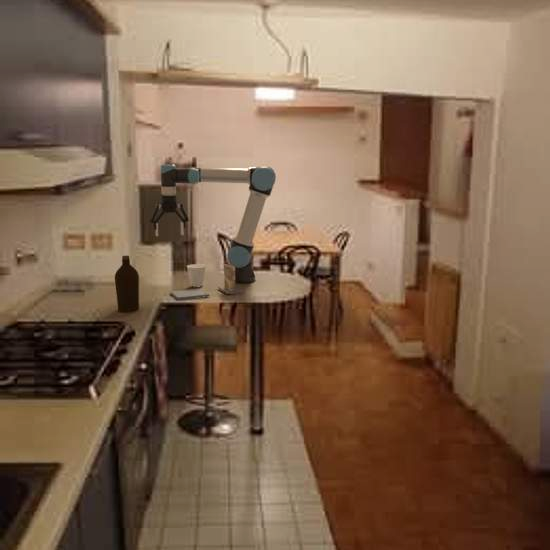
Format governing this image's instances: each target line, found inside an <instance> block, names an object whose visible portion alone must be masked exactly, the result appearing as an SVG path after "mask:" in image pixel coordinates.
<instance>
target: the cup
mask: <svg viewBox="0 0 550 550" xmlns="http://www.w3.org/2000/svg"><path fill="white" fill-rule="evenodd" d="M186 268H187V273H188V274H187V275H188V278H189V283H190V287H192V286H193V287H192V288H195V287H197V288H199V287H198V286H202V285H204V284H203V283H204V279H205V278H204V277H205V276H204V275H205V271H206V265H205V264H199V263H196V264H193V263H192V264H188V265H186ZM202 287H203V286H202Z"/></svg>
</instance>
